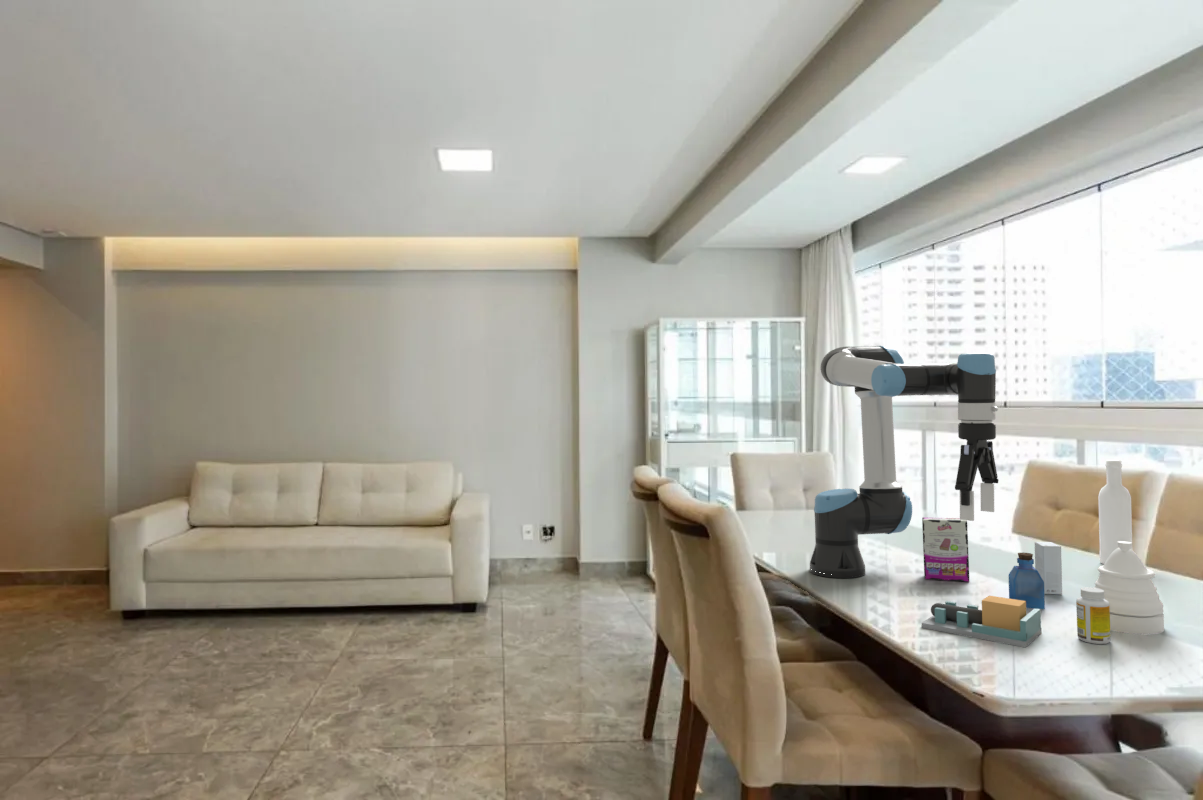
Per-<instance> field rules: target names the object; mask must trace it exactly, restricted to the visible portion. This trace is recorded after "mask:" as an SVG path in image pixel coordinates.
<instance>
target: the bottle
mask: <svg viewBox="0 0 1203 800" xmlns="http://www.w3.org/2000/svg"><path fill="white" fill-rule="evenodd" d="M1122 467H1123V464H1122V461H1121V460H1120V459H1106V460H1105V472H1106V475H1105V476H1106V478H1105V479H1106V484H1104V486H1102V487H1101V488H1100V490H1099V493H1098V495H1097V496H1098V500H1097V501H1098V525H1099V526H1098V532H1099V534H1098V535H1099V536H1098V537H1099V539H1098V540H1099V553H1098V554H1099V562H1100V563H1101V564H1102V565H1104V564H1105V562H1106V560H1107V559H1108V557H1109V556H1110V554H1111V553H1112V552H1113V551H1114V550H1116V549H1117V548H1119V547H1118V544H1117V542H1118V541H1126V542H1132V543H1133V521H1132V520H1133V519H1132V517H1133V516H1132V514H1133V512H1132V495H1131V494H1130V491H1129V489H1128V488H1127V487H1125V486H1124V485H1123V480H1122V479H1123V475H1122V473H1123V472H1122ZM1131 550H1133V546H1132V547H1131ZM1133 551H1134V550H1133Z"/></svg>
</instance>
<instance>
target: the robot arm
mask: <svg viewBox="0 0 1203 800" xmlns="http://www.w3.org/2000/svg"><path fill="white" fill-rule="evenodd" d="M995 362H996V360H995V355H994V354H993V353H991V352H973V353H971V352H969V353H961V354H959V355H958V357H957V362H939V363H935V362H934V363H905V362H904V358H903V356H902V354H901V353H900V352H899V350H897V349H896V348H895V347H893V346H887V345H864V346H863V345H861V346H841V347H837V348H834V349H832V350H830V351H829V352H828V353H826V354H825V355H824V357H823V358H822V360H821V363H820V373H821V376H822V378H823V379H824V380H825V381H826V382H827V383H829V384H831V385H832V386H833V385H834V386H837V387H844V388H846V387H851V388H852V387H854V394H855V395H856V396H857V397H858V398H859V399H860V411H861V412H860V415H861V432H862V433H861V434H862V438H861V439H862V455H863V473H864V475H863V476H864V477H863V478H864V481H863V482H862V483H861V484H860V485H859V487H858V488H859V493H858V492H857V490H856V489H854V488H836V489H835V488H834V489H828V490H824V491H821V492H819V493H817V494H816V495H815V497H814V508H813V511H814V533H815V534H814V537H815V541H814V542H815V546H814V549H813V552H812V555H811V558H810V561H809V572H810V573H811V574H813V575H816V576H820V577H823V578H824V577H825V578H826V577H827V578H833V579H834V578H836V579H849V578H850V579H852V578H853V579H854V578H860V577H863V576H864V575H866V565H865V561H864V559H863V557H862V553H861V550H860V547H859V535H879V534H886V535H891V534H896V533H902V532H904V531H905V530H906V529H907V528H908V526H910V523H911V521H912V516H913V504H912V503H913V502H912V501H911V497H910V496H909V494H908V493H906V492H904V491H903V485H901V483H899V482H898V481H897V472H896V471H897V469H896V451H895V450H896V449H895V434H894V431H895V430H894V429H895V428H894V412H893V397H901V396H902V397H903V396H949V395H950V396H952V395H953V396H954V395H955V396H956V395H957V397H958V398H957V399H958V400H957V419H958V420H959V421H960V422H959V423H958V424H957V425H958V426H957V429H958V431H957V432H958V434H957V435H958V438H959V439H960V440H965V441H966V444H961V445H960V455H959V462H958V468H957V472H956V478H955V479H956V480H955V485H954V490H956V491H959V518H960V520H967V521H972V522H973V521H975V491H974V490H973V487H974V483H975V479H976V474H977V471H978V473H979V475H980V479H981V481H982V482H980V511H981V512H988V513H989V512H990V513H994V512H995V484H999V478H998V473H997V472H998V471H997V466H996V462H995V460H996V459H995V455H994V449H993V448H994V446H993V441H992V440H995V439H996V437H997V434H996V433H997V432H996V431H997V427H996V425H997V424H995V422H993V421H995V420H996V412H998V411H999V408H998V407H997V406H996V377H997V376H996V374H997V369H996V363H995ZM811 569H812V570H811ZM815 571H816V572H815ZM819 572H821V573H819ZM823 573H825V574H823ZM831 574H832V575H831Z"/></svg>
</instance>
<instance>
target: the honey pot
mask: <svg viewBox="0 0 1203 800" xmlns="http://www.w3.org/2000/svg"><path fill="white" fill-rule="evenodd" d="M1117 544H1118V547H1119V548H1117V549H1116V550H1114V551H1113V552H1112V553H1111V554H1110V556H1109V557H1108V559H1107V560H1106V562H1105V564H1102V565H1100V566H1098V568H1097V570H1098V572H1099V575H1098V577H1097V579H1096V580H1095V582H1094V587H1093V588H1098V589H1102V590H1104V596H1105V598H1104V599H1105V600H1107V601H1108V602H1109V605H1110V631H1113V632H1117V633H1124V634H1132V635H1157V634H1162V633H1163V632H1165V619H1164V618H1165V617H1164V616H1165V615H1164V614H1165V613H1164V604H1163V603H1164V602H1162V601H1161V599H1160V594H1159V593H1158V591H1157V586H1155V583H1154V582H1153V580H1152V579H1153V578H1155V576H1156V572H1155V571H1154V570H1153V569H1149V568H1147V567H1146V566H1145V563H1144V562H1143V561H1142V559H1141V557H1140V556H1139V555H1138V554H1137V553H1136V552H1135V551H1134V550H1131V547H1132V548H1133V541H1132V542H1126V541H1118V542H1117Z"/></svg>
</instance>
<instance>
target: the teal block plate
mask: <svg viewBox="0 0 1203 800" xmlns="http://www.w3.org/2000/svg"><path fill="white" fill-rule="evenodd" d="M944 604H947V605H953V606H957V602H956V601H955V602H954V601H948V600H946V601H945V602H944ZM966 608H971V609H977V610H979V606H978V605H976V604H975V605H974V604H967V605H966ZM1041 616H1042V615H1041V609H1036V608H1032V610H1030V612H1028V613H1026V616H1025V617H1024V618H1022V619H1021V620H1020V631H1014V630H1009V629H1003V628H997V627H992V626H986V625H981V624H975V623H973V624H968V613H967V612H961V611H957V621H951V620H946V609H943V608H937V607H936V608H935V617H934V616H933V615H932V616H930V617H929V618H927V619H926V620H924V621H922V622H921V628H922V629H926V630H927V629H929V630H934V631H937V632H942V633H949V634H952V635H953V634H954V635H958V636H959V635H960V636H964V637H969V638H975V639H979V640H980V639H981V640H983V641H990V642H996V643H1001V644H1005V645H1011V646H1017V647H1022V648H1027V647H1028V646H1029V645H1030V644H1031V643H1032V642H1033V641H1034V640H1036V638H1037V637H1039V636H1040V635H1041V634H1042V621H1041V619H1042V618H1041Z"/></svg>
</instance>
